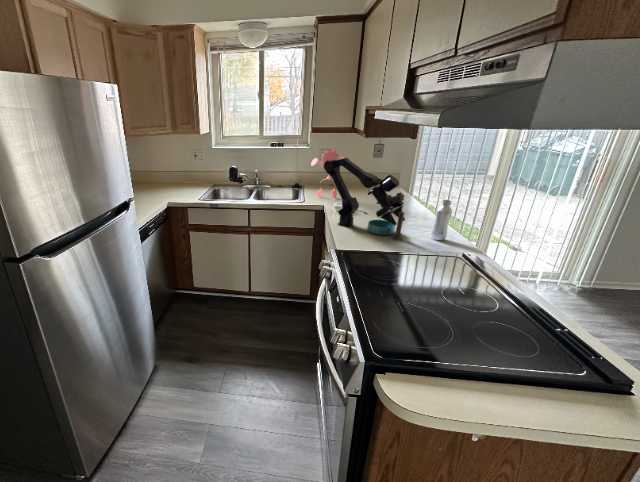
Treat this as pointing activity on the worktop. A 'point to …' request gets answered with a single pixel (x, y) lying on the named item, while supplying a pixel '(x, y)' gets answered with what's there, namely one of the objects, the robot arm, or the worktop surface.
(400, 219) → the post
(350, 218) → the robot arm
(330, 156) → the figurine
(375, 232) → the bowl
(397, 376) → the worktop surface
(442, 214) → the plastic bottle
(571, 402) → the worktop surface
